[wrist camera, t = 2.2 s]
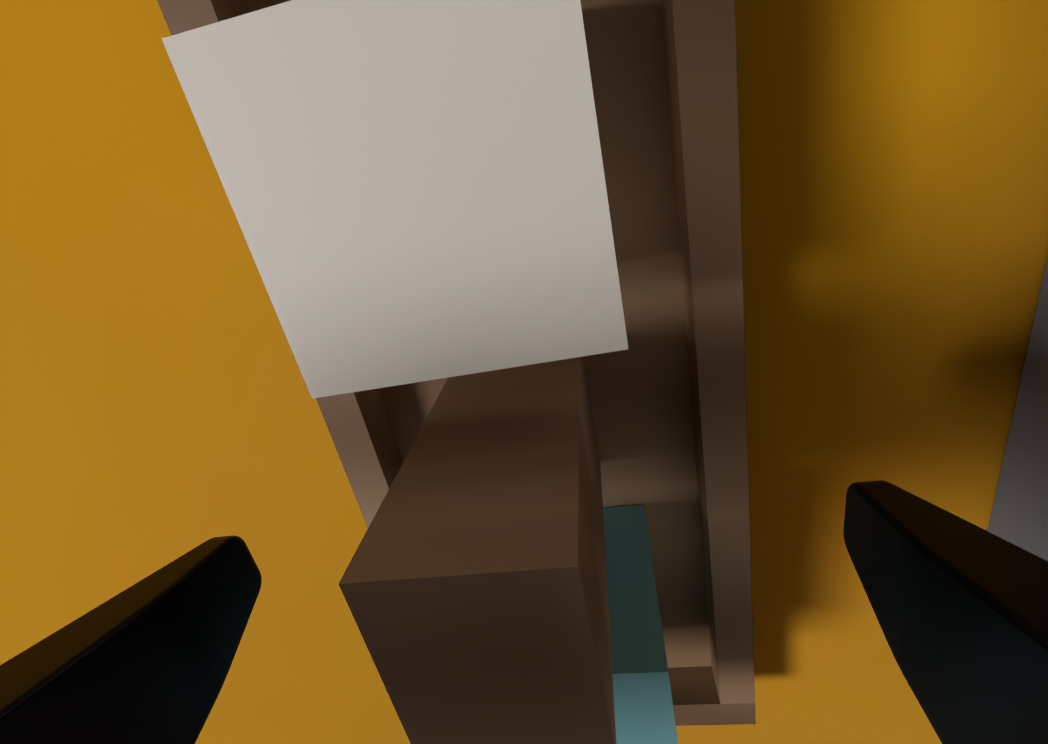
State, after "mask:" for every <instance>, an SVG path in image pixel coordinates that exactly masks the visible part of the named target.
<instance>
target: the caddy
mask: <svg viewBox="0 0 1048 744" xmlns="http://www.w3.org/2000/svg"><path fill="white" fill-rule="evenodd" d="M287 1H291V0H158V3H159V5H160V8H161V10H162V13H163V15H164V18H165V20H166V23H167V25H168V28H169V30H170V33H171V35H176V34H179V33H182V32H186V31H189V30H193V29H196V28H199V27H203V26H206V25H209V24H213V23H216V22H220V21H223V20H226V19H230V18H233V17H237V16H240V15H243V14H247V13H250V12H253V11H257V10H260V9H264V8H267V7H270V6H274V5H277V4H281V3H284V2H287ZM580 2H581V9H582V16H583V24H584V31H585V38H586V45H587V52H588V60H589V67H590V74H591V81H592V89H593V96H594V103H595V110H596V118H597V125H598V132H599V139H600V146H601V154H602V161H603V168H604V175H605V183H606V190H607V197H608V204H609V212H610V219H611V226H612V233H613V241H614V248H615V255H616V262H617V269H618V277H619V284H620V291H621V298H622V306H623V313H624V320H625V327H626V335H627V342H628V349H627V350H621V351H615V352H608V353H602V354H595V355H589V356H583V357H576V358H570V359H563V360H557V361H550V362H544V363H538V364H531V365H525V366H518V367H512V368H506V369H499V370H493V371H486V372H480V373H474V374H467V375H461V376H454V377H448V378H442V379H435V380H429V381H422V382H416V383H410V384H403V385H397V386H390V387H384V388H378V389H371V390H365V391H358V392H352V393H346V394H339V395H333V396H326V397H320V398H316V399H317V402H318V404H319V407H320V409H321V412H322V414H323V417H324V419H325V422H326V424H327V427H328V429H329V432H330V434H331V437H332V439H333V442H334V444H335V447H336V449H337V452H338V454H339V457H340V459H341V462H342V464H343V467H344V469H345V472H346V474H347V477H348V479H349V482H350V484H351V487H352V489H353V492H354V494H355V497H356V499H357V502H358V504H359V507H360V509H361V512H362V515H363V517H364V520H365V522H366V525H367V527H368V530H367V532H366V533H365V535H364V537H363V539H362V541H361V543H360V545H359V547H358V549H357V550H356V552H355V554H354V556H353V558H352V560H351V562H350V564H349V566H348V567H347V569H346V571H345V573H344V575H343V577H342V579H341V581H340V582H339V586H340V588H341V590H342V592H343V595H344V597H345V599H346V601H347V603H348V606H349V608H350V610H351V612H352V614H353V617H354V619H355V621H356V623H357V626H358V628H359V630H360V632H361V634H362V637H363V639H364V641H365V643H366V645H367V648H368V650H369V652H370V654H371V657H372V659H373V661H374V663H375V665H376V668H377V670H378V672H379V674H380V676H381V679H382V681H383V683H384V685H385V688H386V690H387V692H388V694H389V696H390V699H391V701H392V703H393V705H394V707H395V710H396V712H397V714H398V716H399V719H400V721H401V723H402V725H403V727H404V730H405V732H406V734H407V736H408V738H409V741H410V743H411V744H616V728H615V710H614V693H613V675H612V658H611V640H610V622H609V605H608V587H607V570H606V552H605V535H604V517H603V508H609V507H621V506H632V505H643V504H644V510H645V517H646V524H647V530H648V537H649V544H650V550H651V557H652V564H653V571H654V577H655V584H656V591H657V597H658V604H659V611H660V618H661V624H662V631H663V638H664V644H665V651H666V658H667V665H668V671H669V679H670V687H671V694H672V702H673V709H674V717H675V725H725V724H755V691H754V655H753V620H752V585H751V549H750V514H749V478H748V443H747V408H746V372H745V337H744V301H743V266H742V231H741V195H740V160H739V124H738V89H737V54H736V18H735V0H580Z"/></svg>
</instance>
